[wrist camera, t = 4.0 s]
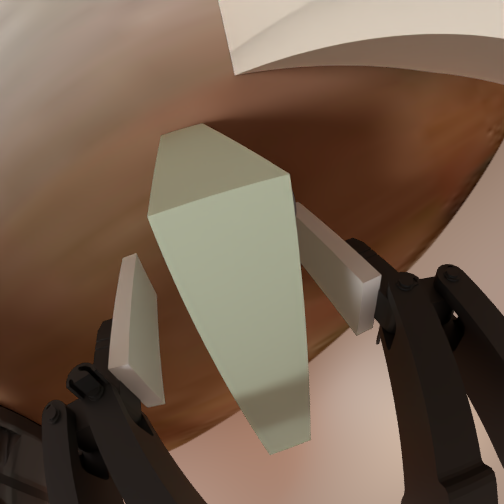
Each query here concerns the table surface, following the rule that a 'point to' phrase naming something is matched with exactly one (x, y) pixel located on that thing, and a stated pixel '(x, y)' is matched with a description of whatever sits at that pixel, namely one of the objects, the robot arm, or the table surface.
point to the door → (238, 272)
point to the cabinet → (368, 35)
